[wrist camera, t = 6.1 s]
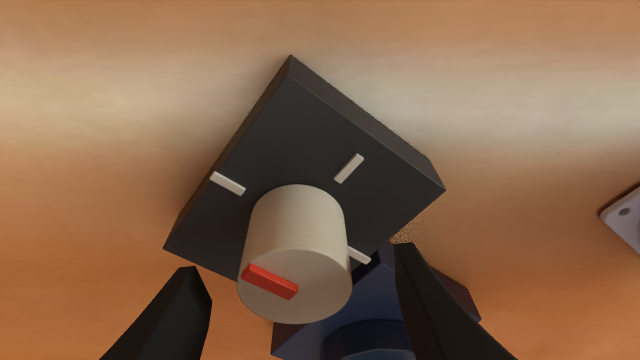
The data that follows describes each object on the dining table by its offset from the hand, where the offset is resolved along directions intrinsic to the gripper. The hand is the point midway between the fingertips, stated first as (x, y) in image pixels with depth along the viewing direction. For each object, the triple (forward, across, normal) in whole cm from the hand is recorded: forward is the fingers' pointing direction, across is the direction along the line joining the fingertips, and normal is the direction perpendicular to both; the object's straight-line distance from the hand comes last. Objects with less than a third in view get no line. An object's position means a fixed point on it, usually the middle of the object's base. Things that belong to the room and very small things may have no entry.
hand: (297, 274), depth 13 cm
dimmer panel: (+5, 0, 0) cm, 5 cm away
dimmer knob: (+3, 0, 0) cm, 3 cm away
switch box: (+6, -3, +10) cm, 12 cm away
